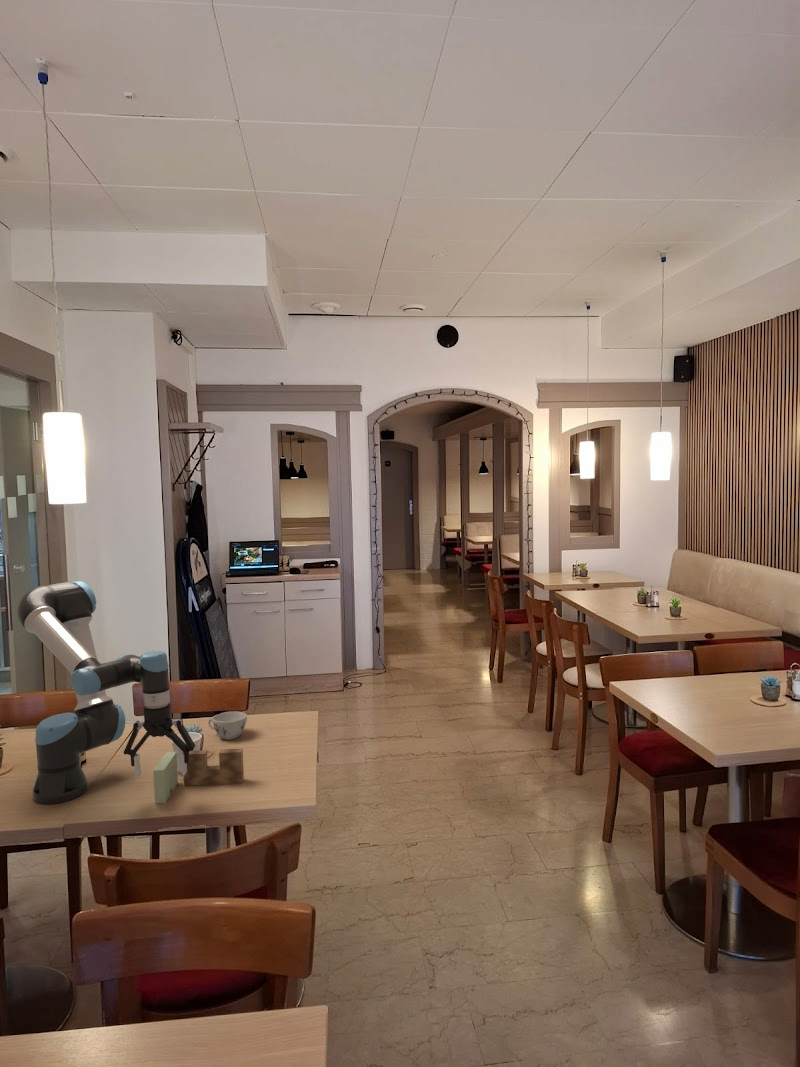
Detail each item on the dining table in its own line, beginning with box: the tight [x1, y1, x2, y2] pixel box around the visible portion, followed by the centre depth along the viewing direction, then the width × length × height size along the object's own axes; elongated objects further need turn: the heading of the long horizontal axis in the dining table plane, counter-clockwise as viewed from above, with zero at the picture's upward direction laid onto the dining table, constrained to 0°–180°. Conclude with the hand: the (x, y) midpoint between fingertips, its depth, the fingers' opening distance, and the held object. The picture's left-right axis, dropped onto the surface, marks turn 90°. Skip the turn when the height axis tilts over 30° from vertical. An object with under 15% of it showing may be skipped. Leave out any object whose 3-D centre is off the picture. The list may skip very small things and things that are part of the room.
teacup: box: [207, 710, 248, 741], centre depth 261 cm, size 15×12×8 cm
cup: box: [170, 731, 203, 774], centre depth 232 cm, size 10×10×11 cm
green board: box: [153, 751, 179, 804], centre depth 215 cm, size 14×3×10 cm, turn 3°
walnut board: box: [183, 748, 245, 786], centre depth 222 cm, size 18×3×10 cm, turn 93°
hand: (161, 775), depth 209 cm, fingers open, 13 cm apart
